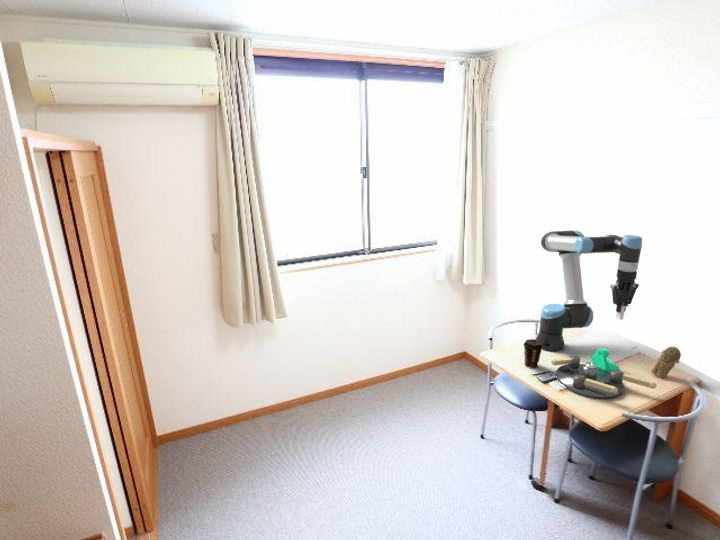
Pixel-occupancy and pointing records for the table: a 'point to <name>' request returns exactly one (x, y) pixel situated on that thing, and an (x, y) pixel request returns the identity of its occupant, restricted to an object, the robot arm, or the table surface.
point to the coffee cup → (532, 353)
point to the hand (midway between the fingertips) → (619, 318)
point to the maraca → (568, 361)
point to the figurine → (666, 361)
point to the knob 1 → (592, 384)
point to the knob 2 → (629, 379)
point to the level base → (588, 390)
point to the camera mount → (604, 360)
